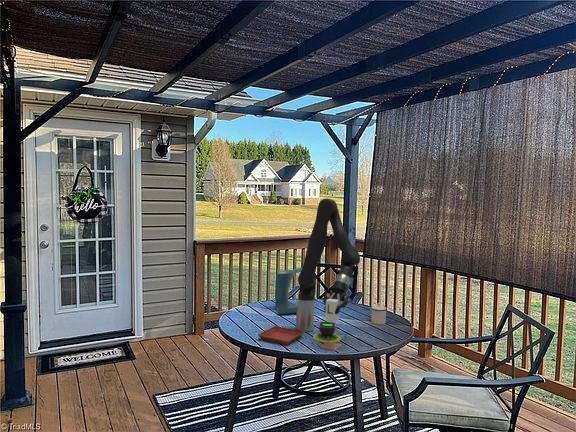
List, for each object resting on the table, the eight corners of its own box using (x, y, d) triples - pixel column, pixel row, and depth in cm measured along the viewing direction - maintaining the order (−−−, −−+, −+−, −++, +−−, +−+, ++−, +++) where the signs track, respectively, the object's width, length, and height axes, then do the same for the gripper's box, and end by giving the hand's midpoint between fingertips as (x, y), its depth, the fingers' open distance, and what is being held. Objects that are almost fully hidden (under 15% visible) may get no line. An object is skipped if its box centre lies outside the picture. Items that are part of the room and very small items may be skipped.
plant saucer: (287, 347, 206) (288, 340, 206) (257, 340, 215) (257, 334, 215) (304, 337, 222) (304, 331, 222) (275, 331, 231) (275, 325, 230)
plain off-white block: (325, 320, 206) (325, 300, 206) (329, 318, 211) (330, 298, 210) (334, 322, 204) (335, 302, 203) (338, 319, 208) (339, 299, 208)
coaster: (320, 347, 206) (320, 345, 206) (327, 342, 213) (327, 341, 213) (335, 350, 202) (335, 349, 202) (341, 346, 209) (341, 344, 209)
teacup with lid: (389, 323, 251) (389, 304, 251) (378, 325, 246) (379, 306, 246) (375, 318, 261) (375, 300, 261) (364, 320, 256) (364, 301, 256)
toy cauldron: (346, 338, 222) (347, 317, 221) (329, 344, 211) (329, 323, 211) (324, 331, 232) (325, 312, 232) (307, 337, 221) (307, 316, 221)
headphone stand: (315, 307, 284) (314, 266, 285) (311, 316, 257) (310, 271, 257) (277, 307, 288) (276, 267, 288) (270, 316, 260) (268, 272, 261)
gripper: (326, 278, 217) (315, 306, 207) (352, 282, 209) (342, 310, 199) (330, 287, 221) (320, 314, 212) (356, 290, 214) (346, 319, 204)
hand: (330, 312), depth 206 cm, fingers closed on plain off-white block, 5 cm apart
